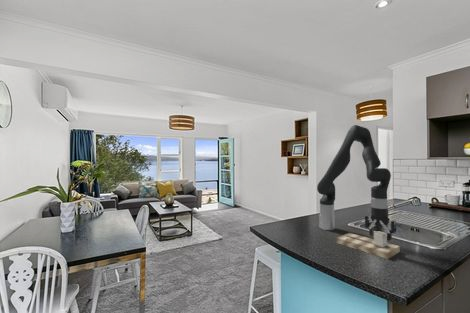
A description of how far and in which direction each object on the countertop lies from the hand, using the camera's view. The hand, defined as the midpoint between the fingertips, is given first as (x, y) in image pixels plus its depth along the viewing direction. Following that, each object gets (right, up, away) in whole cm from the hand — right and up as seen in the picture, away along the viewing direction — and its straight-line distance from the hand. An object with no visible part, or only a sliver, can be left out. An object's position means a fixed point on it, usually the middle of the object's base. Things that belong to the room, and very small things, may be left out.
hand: (380, 238), depth 115 cm
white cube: (0, -3, 0) cm, 3 cm away
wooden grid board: (-4, -7, +6) cm, 10 cm away
